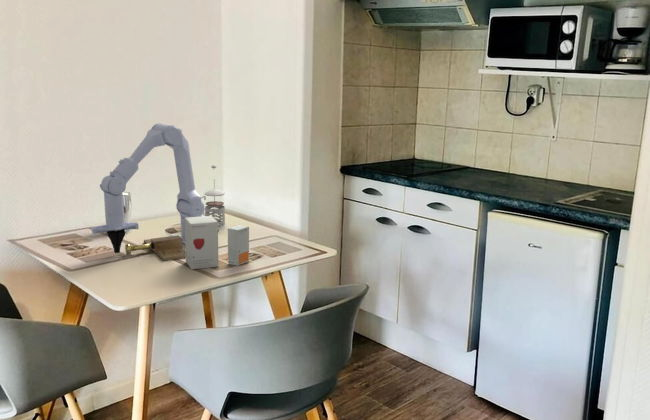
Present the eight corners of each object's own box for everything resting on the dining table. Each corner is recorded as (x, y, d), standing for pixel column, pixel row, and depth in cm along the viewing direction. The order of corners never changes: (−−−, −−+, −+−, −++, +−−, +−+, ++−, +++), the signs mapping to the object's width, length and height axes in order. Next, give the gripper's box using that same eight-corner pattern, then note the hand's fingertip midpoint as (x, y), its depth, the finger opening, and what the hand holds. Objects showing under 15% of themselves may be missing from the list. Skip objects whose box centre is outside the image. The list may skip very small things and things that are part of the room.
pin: (156, 248, 206) (155, 238, 205) (159, 251, 203) (158, 241, 202) (125, 252, 200) (124, 242, 200) (128, 255, 197) (127, 245, 197)
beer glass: (136, 231, 228) (134, 193, 224) (122, 235, 222) (119, 196, 219) (124, 228, 231) (122, 190, 228) (109, 232, 226) (107, 193, 222)
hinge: (170, 239, 218) (169, 228, 217) (191, 256, 198) (191, 245, 197) (143, 242, 213) (143, 231, 212) (163, 260, 193) (162, 249, 193)
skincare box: (237, 266, 190) (237, 230, 187) (227, 263, 192) (226, 228, 189) (249, 261, 195) (249, 226, 192) (239, 259, 197) (239, 224, 194)
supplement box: (190, 270, 185) (189, 223, 182) (185, 261, 193) (183, 217, 190) (219, 267, 189) (218, 221, 185) (212, 258, 197) (211, 215, 193)
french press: (225, 230, 232) (224, 167, 226) (195, 229, 232) (193, 166, 227) (229, 224, 242) (228, 163, 236) (201, 223, 242) (199, 162, 236)
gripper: (93, 217, 187) (96, 258, 190) (140, 212, 194) (142, 252, 197) (89, 212, 193) (92, 252, 196) (134, 208, 200) (136, 246, 203)
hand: (116, 252), depth 197 cm, fingers closed
